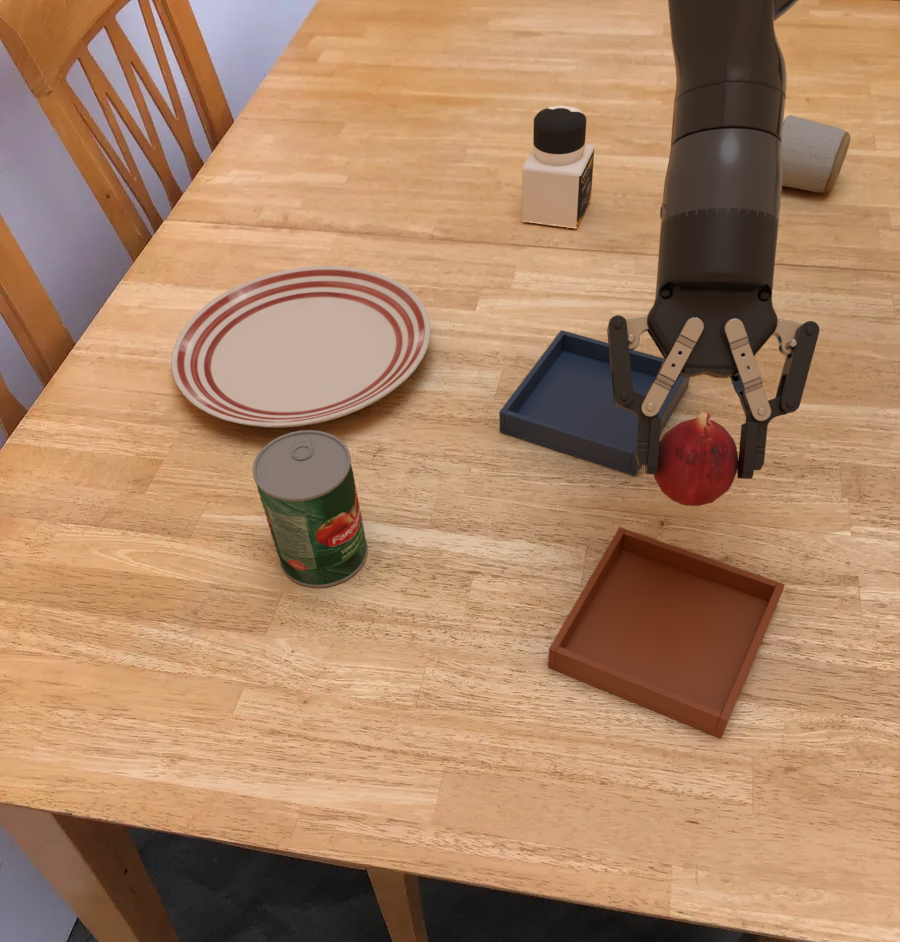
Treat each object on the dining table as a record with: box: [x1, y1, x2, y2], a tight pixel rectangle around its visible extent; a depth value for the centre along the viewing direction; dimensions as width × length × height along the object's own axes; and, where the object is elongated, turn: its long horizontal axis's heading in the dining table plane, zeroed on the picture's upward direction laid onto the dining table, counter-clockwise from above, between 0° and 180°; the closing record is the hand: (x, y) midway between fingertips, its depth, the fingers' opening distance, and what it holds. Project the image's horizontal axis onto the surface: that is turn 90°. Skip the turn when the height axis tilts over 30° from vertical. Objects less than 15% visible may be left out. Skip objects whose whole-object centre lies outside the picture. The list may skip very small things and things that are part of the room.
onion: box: [653, 410, 739, 507], centre depth 65 cm, size 6×6×8 cm
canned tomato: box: [252, 429, 369, 589], centre depth 78 cm, size 8×8×11 cm
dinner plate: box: [170, 265, 432, 429], centre depth 98 cm, size 28×27×3 cm
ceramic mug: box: [781, 114, 851, 193], centre depth 113 cm, size 11×8×8 cm
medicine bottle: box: [521, 105, 595, 228], centre depth 110 cm, size 7×7×12 cm
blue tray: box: [498, 329, 691, 477], centre depth 91 cm, size 14×14×3 cm
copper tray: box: [547, 526, 785, 739], centre depth 74 cm, size 14×14×3 cm
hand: (697, 475), depth 63 cm, fingers closed on onion, 5 cm apart
